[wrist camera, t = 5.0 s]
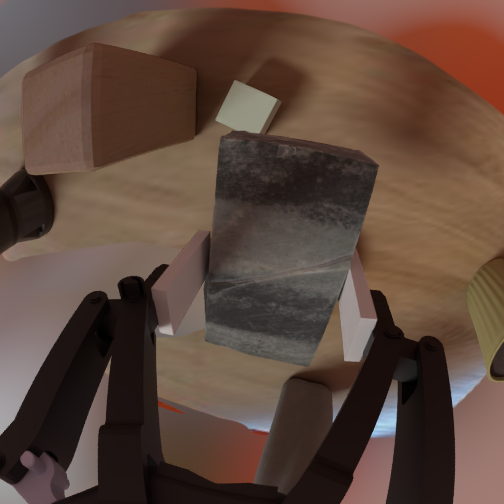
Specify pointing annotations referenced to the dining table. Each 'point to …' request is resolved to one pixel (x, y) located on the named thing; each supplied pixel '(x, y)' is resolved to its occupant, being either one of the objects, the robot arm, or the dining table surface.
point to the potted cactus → (489, 315)
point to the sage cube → (248, 109)
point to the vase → (295, 433)
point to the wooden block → (104, 108)
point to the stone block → (282, 241)
